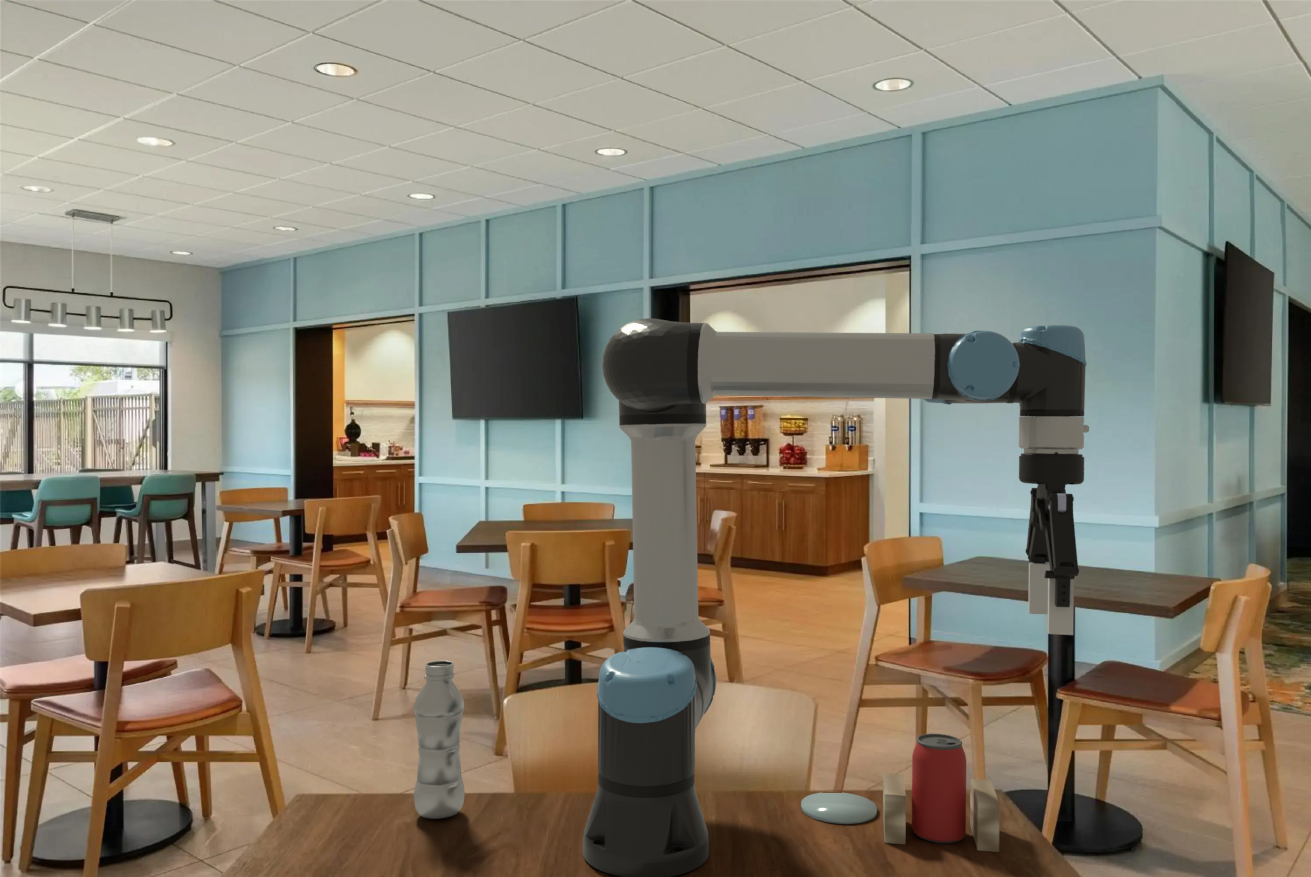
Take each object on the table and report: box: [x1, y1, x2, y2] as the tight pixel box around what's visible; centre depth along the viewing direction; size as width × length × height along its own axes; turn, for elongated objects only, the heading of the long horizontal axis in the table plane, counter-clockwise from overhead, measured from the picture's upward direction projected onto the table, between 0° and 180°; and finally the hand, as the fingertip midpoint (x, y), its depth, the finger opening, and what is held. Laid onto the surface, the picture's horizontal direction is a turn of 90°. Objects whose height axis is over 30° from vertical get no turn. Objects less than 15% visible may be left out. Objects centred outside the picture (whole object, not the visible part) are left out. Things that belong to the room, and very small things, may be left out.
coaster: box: [800, 792, 878, 825], centre depth 137 cm, size 10×10×1 cm
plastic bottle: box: [413, 660, 466, 820], centre depth 134 cm, size 6×7×20 cm
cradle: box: [882, 772, 1000, 853], centre depth 128 cm, size 14×8×6 cm, turn 79°
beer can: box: [911, 733, 967, 844], centre depth 128 cm, size 7×7×12 cm
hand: (1049, 623), depth 126 cm, fingers open, 13 cm apart
